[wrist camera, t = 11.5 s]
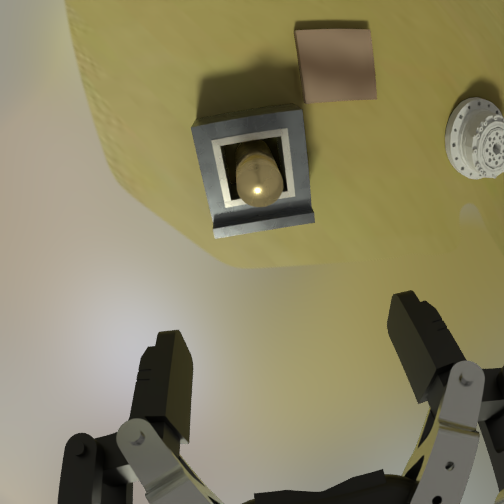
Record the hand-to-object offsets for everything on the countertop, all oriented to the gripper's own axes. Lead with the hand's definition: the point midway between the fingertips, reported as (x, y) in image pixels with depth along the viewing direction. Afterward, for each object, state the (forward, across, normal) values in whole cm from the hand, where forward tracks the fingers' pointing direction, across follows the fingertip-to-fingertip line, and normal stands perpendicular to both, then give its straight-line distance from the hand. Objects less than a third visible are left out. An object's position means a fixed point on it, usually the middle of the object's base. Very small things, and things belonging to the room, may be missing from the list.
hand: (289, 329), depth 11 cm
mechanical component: (+22, -27, 0) cm, 35 cm away
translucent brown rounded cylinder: (+22, 0, 0) cm, 22 cm away
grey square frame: (+22, 0, 0) cm, 22 cm away
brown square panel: (+22, -9, -8) cm, 25 cm away
